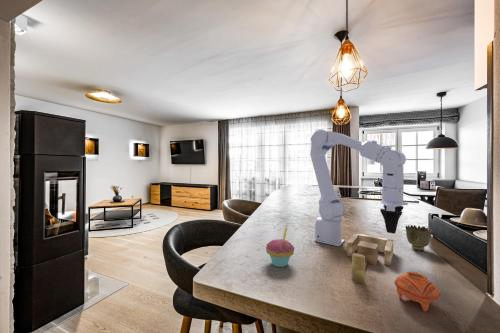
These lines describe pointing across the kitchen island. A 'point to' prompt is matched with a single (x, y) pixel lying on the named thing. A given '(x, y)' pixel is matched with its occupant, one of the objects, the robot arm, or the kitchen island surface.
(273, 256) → the cupcake
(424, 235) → the cup
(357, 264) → the tab block
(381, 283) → the kitchen island surface
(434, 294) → the orange ridged rounded piece
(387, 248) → the beige blocky multi-part fixture
